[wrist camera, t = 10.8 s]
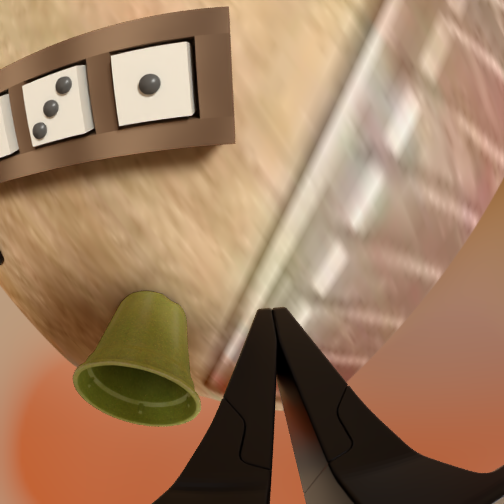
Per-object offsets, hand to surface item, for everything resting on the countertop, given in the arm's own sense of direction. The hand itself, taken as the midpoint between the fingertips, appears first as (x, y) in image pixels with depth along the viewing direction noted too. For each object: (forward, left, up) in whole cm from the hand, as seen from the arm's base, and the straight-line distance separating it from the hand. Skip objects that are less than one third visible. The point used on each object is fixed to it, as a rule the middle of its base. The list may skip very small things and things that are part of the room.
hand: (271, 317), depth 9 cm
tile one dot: (-5, +6, -10) cm, 13 cm away
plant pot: (-9, -12, -12) cm, 19 cm away
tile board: (-10, +6, -12) cm, 17 cm away
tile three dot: (-10, +6, -10) cm, 16 cm away
